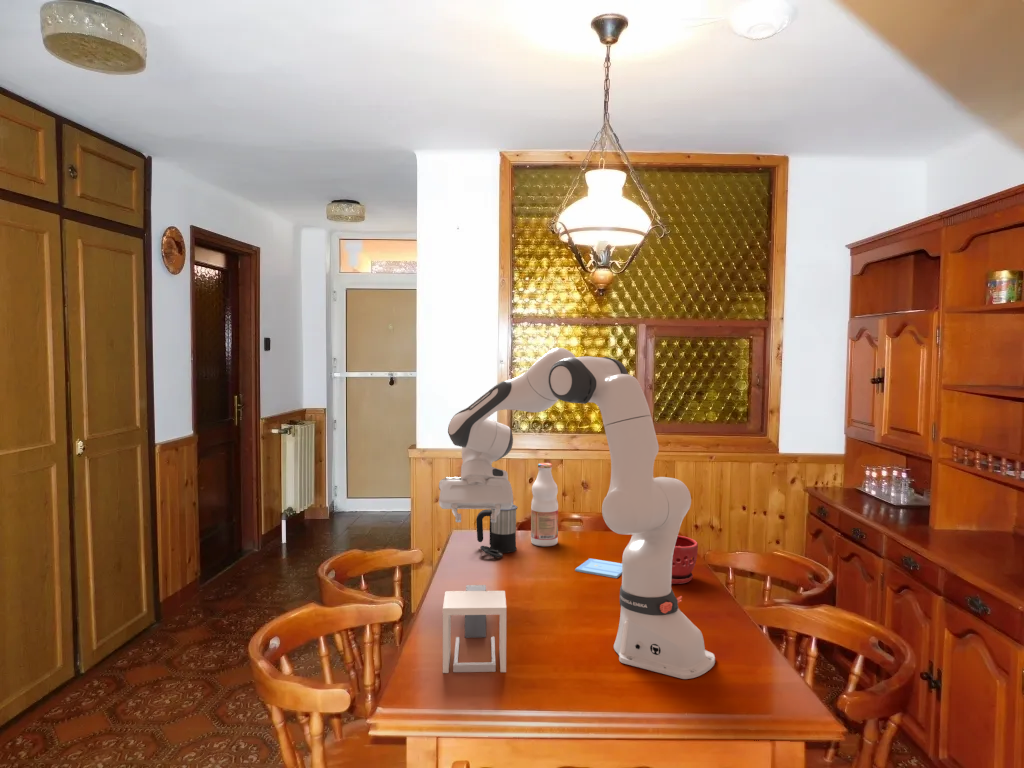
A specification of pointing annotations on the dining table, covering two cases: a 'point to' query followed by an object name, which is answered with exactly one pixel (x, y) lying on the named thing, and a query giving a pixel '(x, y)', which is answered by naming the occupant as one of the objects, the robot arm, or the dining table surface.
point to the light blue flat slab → (601, 568)
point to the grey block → (475, 618)
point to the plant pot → (683, 560)
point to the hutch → (474, 606)
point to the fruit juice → (544, 508)
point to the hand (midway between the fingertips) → (475, 521)
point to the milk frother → (499, 531)
